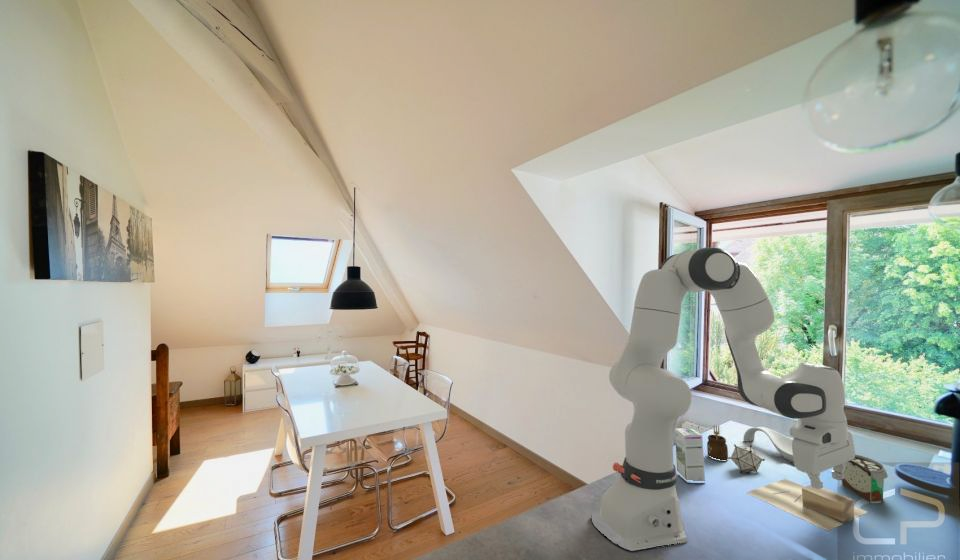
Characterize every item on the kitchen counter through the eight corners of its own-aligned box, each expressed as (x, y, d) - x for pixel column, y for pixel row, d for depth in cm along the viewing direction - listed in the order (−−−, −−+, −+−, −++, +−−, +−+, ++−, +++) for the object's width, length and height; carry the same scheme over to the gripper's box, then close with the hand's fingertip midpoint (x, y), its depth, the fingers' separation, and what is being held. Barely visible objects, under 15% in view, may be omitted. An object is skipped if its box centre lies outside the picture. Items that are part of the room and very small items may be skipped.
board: (828, 536, 83) (827, 530, 84) (746, 496, 100) (745, 492, 100) (868, 516, 90) (868, 511, 90) (785, 482, 107) (785, 478, 107)
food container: (904, 513, 91) (901, 473, 92) (875, 510, 93) (873, 471, 93) (863, 487, 103) (861, 452, 104) (838, 486, 105) (836, 451, 105)
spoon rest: (832, 466, 117) (831, 444, 117) (806, 472, 113) (805, 449, 114) (758, 439, 139) (757, 420, 140) (735, 443, 136) (734, 424, 137)
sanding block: (843, 523, 86) (842, 504, 86) (802, 505, 93) (801, 488, 94) (854, 518, 88) (853, 499, 88) (814, 501, 95) (812, 484, 95)
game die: (753, 486, 112) (765, 470, 106) (722, 469, 117) (731, 453, 111) (759, 464, 117) (770, 447, 112) (729, 449, 122) (738, 432, 117)
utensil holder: (727, 456, 125) (725, 421, 125) (728, 463, 119) (726, 427, 120) (707, 452, 128) (705, 418, 128) (707, 459, 123) (705, 424, 123)
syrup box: (706, 483, 107) (703, 434, 108) (686, 484, 107) (683, 434, 108) (695, 474, 113) (692, 427, 114) (676, 474, 113) (673, 427, 114)
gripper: (830, 417, 98) (834, 468, 98) (785, 430, 91) (789, 486, 90) (861, 424, 93) (866, 479, 92) (816, 439, 85) (820, 499, 84)
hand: (827, 483), depth 91 cm, fingers open, 8 cm apart
